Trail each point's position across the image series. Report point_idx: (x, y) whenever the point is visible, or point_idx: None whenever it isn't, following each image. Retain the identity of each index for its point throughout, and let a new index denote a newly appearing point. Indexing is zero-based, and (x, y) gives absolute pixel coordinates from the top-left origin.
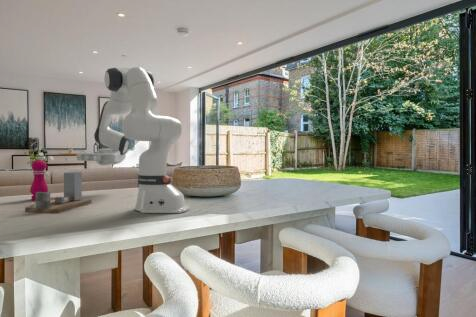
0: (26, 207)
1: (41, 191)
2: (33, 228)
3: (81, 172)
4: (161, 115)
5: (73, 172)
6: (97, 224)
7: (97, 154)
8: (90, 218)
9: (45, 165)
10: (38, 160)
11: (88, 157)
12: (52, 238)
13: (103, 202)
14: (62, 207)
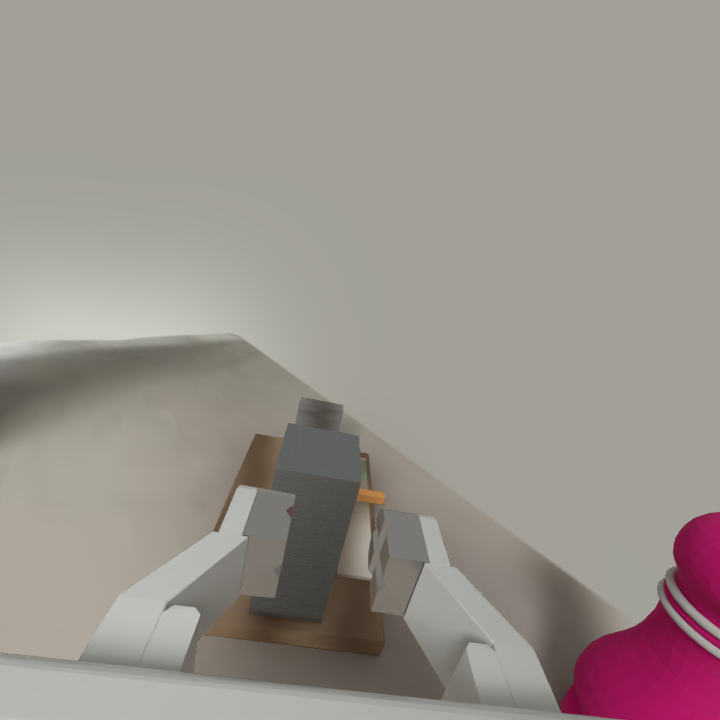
0: (365, 454)
1: (575, 667)
2: (238, 365)
3: (275, 468)
4: None
5: (323, 456)
6: (113, 365)
7: (234, 680)
8: (136, 397)
9: (709, 570)
10: None
11: (386, 579)
12: (183, 335)
13: None
14: (254, 450)
